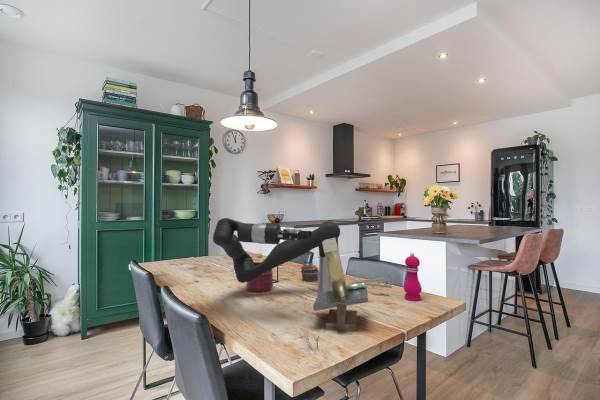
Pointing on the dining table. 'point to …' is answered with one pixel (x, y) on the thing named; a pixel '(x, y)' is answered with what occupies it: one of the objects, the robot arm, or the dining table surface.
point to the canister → (260, 278)
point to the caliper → (378, 280)
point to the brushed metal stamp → (338, 282)
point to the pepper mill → (412, 279)
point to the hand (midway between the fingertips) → (310, 235)
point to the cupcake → (309, 272)
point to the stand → (342, 319)
